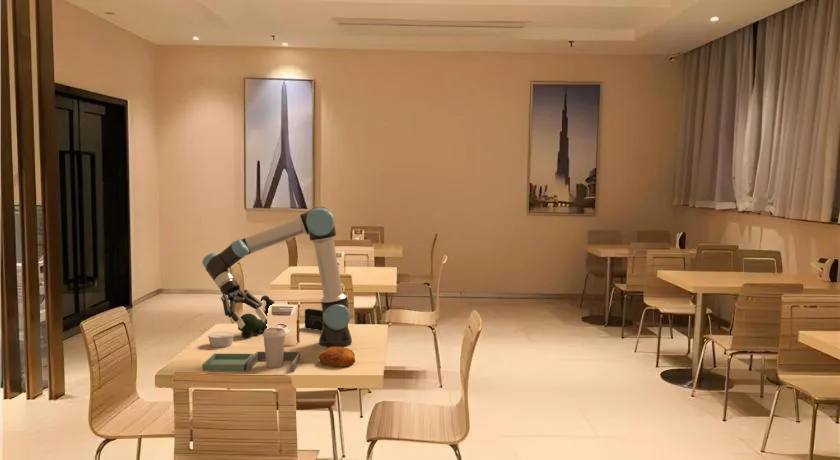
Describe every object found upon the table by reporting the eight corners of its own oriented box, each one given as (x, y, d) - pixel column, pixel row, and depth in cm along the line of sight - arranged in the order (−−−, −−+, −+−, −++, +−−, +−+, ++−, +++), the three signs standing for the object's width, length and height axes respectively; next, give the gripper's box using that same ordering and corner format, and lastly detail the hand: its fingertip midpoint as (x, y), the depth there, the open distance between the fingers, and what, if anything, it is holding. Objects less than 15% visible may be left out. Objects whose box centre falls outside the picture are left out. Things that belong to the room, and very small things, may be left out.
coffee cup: (280, 369, 274) (280, 333, 273) (258, 368, 276) (258, 332, 274) (290, 363, 283) (289, 328, 282) (268, 362, 285) (268, 326, 284)
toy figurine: (262, 331, 346) (228, 338, 323) (264, 294, 345) (230, 297, 322) (278, 334, 341) (244, 340, 318) (279, 295, 341) (246, 299, 318)
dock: (300, 359, 289) (300, 351, 289) (293, 372, 271) (293, 363, 271) (256, 359, 289) (256, 351, 288) (246, 371, 271) (246, 363, 270)
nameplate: (304, 328, 347) (304, 309, 347) (307, 327, 349) (307, 308, 348) (338, 333, 337) (338, 313, 336) (340, 332, 339) (340, 312, 338)
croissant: (342, 375, 275) (344, 356, 274) (312, 364, 283) (314, 346, 281) (363, 365, 288) (364, 347, 286) (333, 355, 295) (335, 337, 294)
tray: (253, 359, 289) (253, 353, 288) (244, 370, 272) (244, 364, 272) (214, 359, 288) (214, 353, 288) (202, 370, 272) (202, 364, 271)
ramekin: (209, 349, 304) (209, 338, 304) (206, 343, 315) (206, 332, 314) (235, 347, 309) (235, 335, 308) (231, 341, 319) (231, 330, 319)
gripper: (243, 286, 301) (270, 323, 295) (200, 294, 280) (227, 335, 274) (252, 275, 298) (279, 312, 292) (209, 283, 277) (237, 323, 271)
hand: (254, 323), depth 283 cm, fingers open, 13 cm apart
